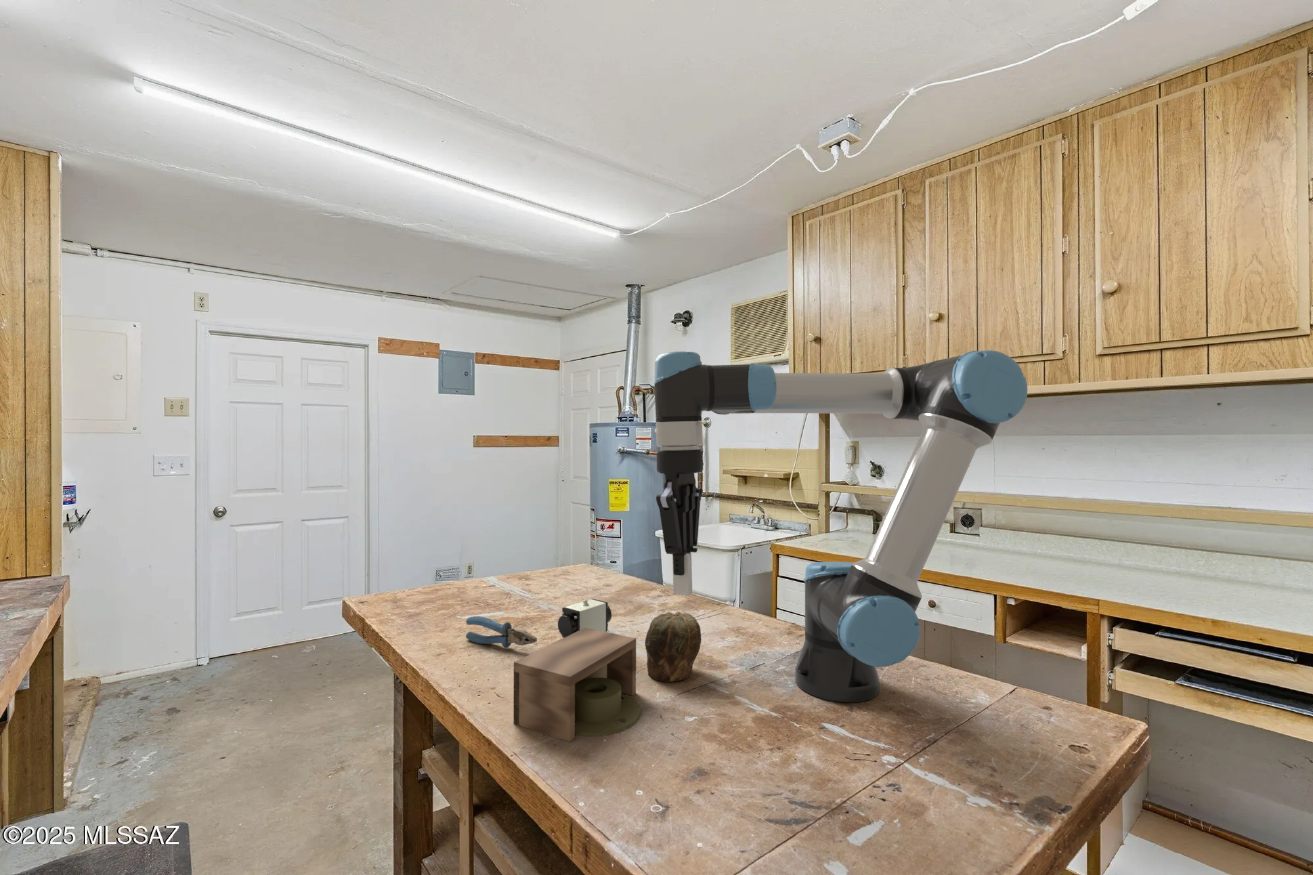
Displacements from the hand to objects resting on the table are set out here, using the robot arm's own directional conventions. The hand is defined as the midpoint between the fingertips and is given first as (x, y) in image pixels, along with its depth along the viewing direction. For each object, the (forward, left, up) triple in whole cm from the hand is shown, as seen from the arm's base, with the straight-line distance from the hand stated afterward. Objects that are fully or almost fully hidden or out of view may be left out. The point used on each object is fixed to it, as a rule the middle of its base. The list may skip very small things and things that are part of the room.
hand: (682, 593), depth 94 cm
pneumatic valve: (+32, -16, -22) cm, 41 cm away
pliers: (+51, -11, -22) cm, 56 cm away
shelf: (+18, +4, -21) cm, 28 cm away
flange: (+14, +4, -22) cm, 27 cm away
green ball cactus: (+11, -17, -22) cm, 29 cm away
